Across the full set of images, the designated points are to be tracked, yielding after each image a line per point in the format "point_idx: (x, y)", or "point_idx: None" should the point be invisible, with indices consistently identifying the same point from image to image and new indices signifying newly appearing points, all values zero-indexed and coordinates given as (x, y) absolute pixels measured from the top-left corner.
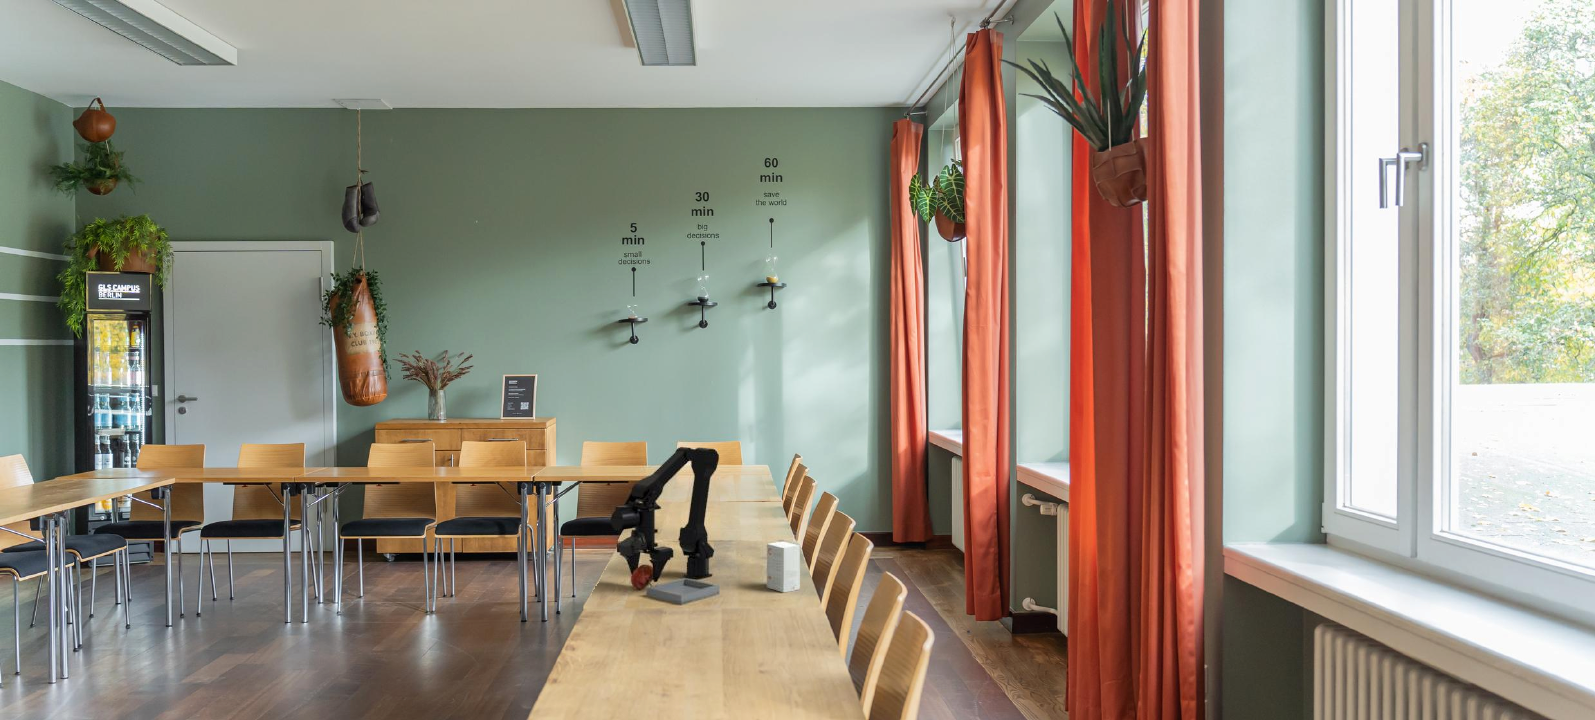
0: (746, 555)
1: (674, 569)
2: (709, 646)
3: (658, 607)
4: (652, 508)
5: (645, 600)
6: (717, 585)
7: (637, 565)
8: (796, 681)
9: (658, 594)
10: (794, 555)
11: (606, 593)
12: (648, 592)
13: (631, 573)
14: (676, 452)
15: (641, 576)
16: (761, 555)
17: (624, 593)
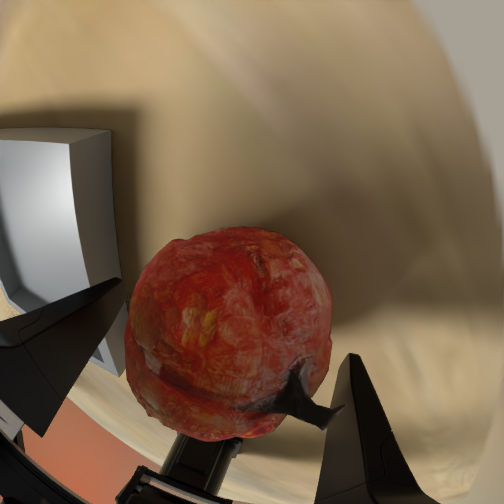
0: (249, 495)
1: (320, 469)
2: None
3: (5, 47)
4: None
5: (70, 65)
6: (7, 299)
7: (327, 450)
8: None
9: (30, 134)
10: None
11: (427, 51)
12: (79, 134)
13: (365, 375)
14: None
15: (150, 270)
16: (228, 491)
17: (291, 105)
